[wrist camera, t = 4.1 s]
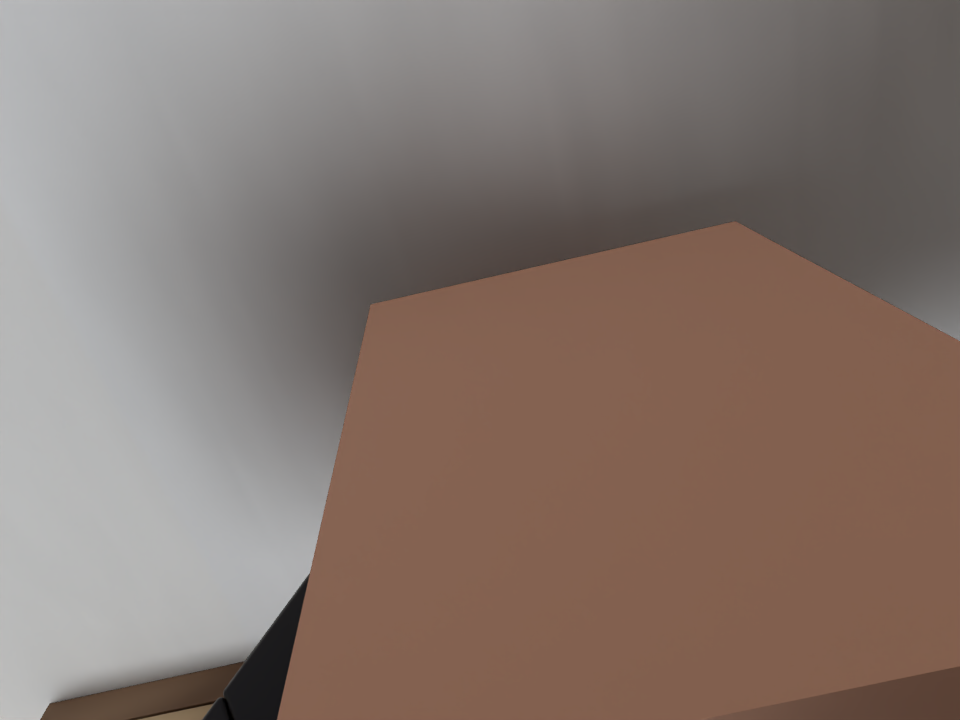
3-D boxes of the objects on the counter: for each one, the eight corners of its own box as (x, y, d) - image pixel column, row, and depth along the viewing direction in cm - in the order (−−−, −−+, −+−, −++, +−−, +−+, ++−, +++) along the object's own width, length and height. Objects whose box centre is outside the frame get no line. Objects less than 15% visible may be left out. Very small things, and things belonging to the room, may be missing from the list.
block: (735, 220, 8) (1400, 575, 2) (736, 502, 10) (1077, 993, 5) (370, 304, 8) (254, 813, 3) (454, 562, 10) (483, 1107, 5)
